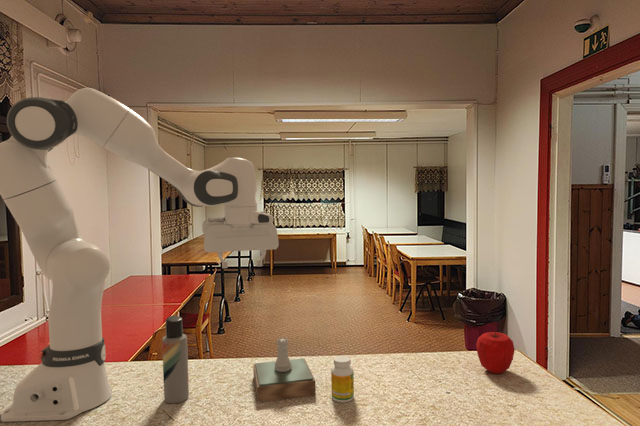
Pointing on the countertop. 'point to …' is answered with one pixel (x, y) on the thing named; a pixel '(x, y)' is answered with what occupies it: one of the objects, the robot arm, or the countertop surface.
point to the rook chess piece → (282, 356)
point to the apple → (495, 351)
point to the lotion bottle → (175, 361)
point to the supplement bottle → (342, 380)
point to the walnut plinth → (283, 381)
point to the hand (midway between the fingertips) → (242, 266)
